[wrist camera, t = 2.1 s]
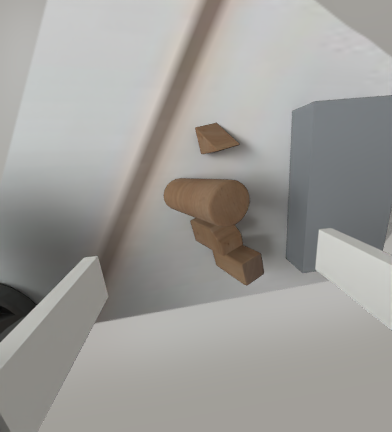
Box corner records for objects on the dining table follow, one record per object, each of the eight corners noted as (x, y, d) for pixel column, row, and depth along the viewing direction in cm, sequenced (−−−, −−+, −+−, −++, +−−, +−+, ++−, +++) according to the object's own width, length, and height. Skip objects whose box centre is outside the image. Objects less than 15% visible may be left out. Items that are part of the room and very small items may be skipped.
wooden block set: (234, 247, 31) (294, 276, 22) (187, 274, 27) (235, 321, 18) (208, 126, 25) (276, 98, 16) (144, 140, 21) (184, 115, 12)
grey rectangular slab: (285, 258, 29) (302, 273, 25) (292, 111, 23) (315, 101, 20) (354, 249, 30) (380, 262, 26) (376, 104, 24) (414, 93, 20)
